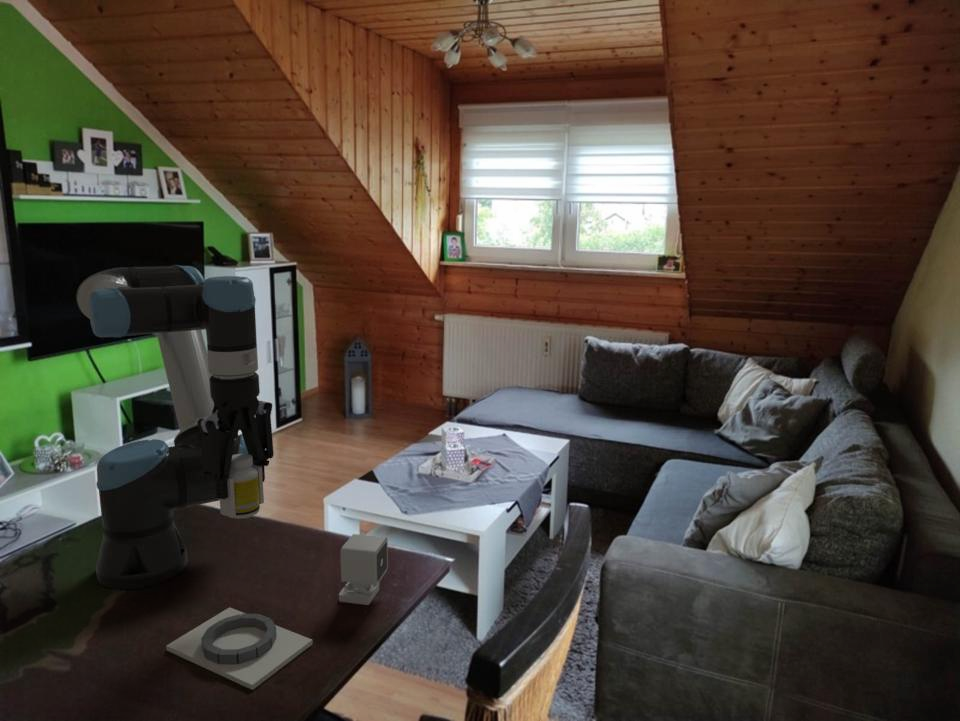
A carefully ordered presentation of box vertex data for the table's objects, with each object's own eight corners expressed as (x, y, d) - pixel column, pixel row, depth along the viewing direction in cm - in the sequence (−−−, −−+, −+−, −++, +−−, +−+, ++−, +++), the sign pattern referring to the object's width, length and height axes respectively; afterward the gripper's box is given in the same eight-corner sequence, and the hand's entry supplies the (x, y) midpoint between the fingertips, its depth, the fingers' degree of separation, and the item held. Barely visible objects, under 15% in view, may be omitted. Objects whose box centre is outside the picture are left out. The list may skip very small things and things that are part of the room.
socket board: (166, 650, 104) (165, 636, 104) (229, 611, 115) (228, 598, 114) (252, 690, 96) (251, 674, 95) (312, 644, 106) (311, 630, 106)
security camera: (376, 607, 116) (375, 552, 114) (337, 602, 118) (335, 548, 115) (388, 588, 122) (387, 535, 120) (351, 583, 124) (349, 531, 122)
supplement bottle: (267, 509, 118) (263, 455, 116) (243, 522, 113) (240, 465, 111) (242, 503, 120) (239, 450, 118) (218, 515, 115) (214, 460, 113)
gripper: (202, 389, 102) (213, 535, 107) (292, 365, 117) (298, 493, 122) (168, 382, 105) (180, 524, 110) (260, 360, 121) (267, 485, 126)
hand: (242, 507), depth 116 cm, fingers closed on supplement bottle, 5 cm apart
